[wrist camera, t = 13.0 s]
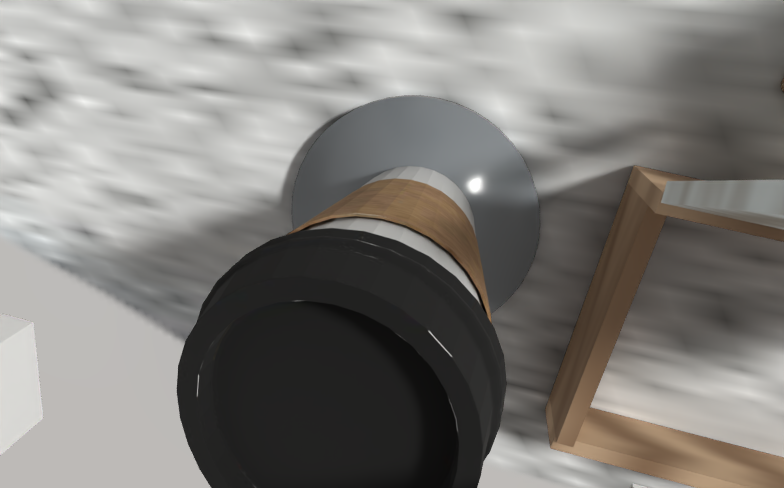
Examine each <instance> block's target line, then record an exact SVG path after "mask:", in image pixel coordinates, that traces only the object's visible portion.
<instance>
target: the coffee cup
mask: <svg viewBox="0 0 784 488" xmlns="http://www.w3.org/2000/svg"><path fill="white" fill-rule="evenodd" d="M505 391H506V373H505V363H504V355H503V352H502V349H501V346H500V343H499V340H498V338H497V335H496V332H495V329H494V327H493V325H492V322H491V313H490V308H489V302H488V297H487V291H486V286H485V280H484V275H483V270H482V264H481V259H480V253H479V248H478V242H477V238H476V234H475V225H474V217H473V213H472V210H471V207H470V204H469V202H468V200H467V199H466V197H465V195H464V194H463V192H462V191H461V190H460V189H459V188H458V186H457V185H456V184H455V183H454V182H452V181H451V180H450V179H448V178H447V177H446V176H444V175H442V174H440V173H438V172H436V171H434V170H431V169H427V168H424V167H416V166H404V167H397V168H394V169H391V170H388V171H385V172H383V173H381V174H380V175H378V176H376V177H374V178H373V179H371V180H370V181H369V182H367V183H366V184H365V185H363V186H362V187H361V188H359V189H357V190H356V191H354V192H352V193H351V194H349V195H348V196H346V197H344V198H343V199H341V200H340V201H338V202H337V203H335V204H334V205H332V206H330V207H329V208H327V209H326V210H324V211H323V212H321V213H319V214H318V215H316V216H315V217H313V218H312V219H310V220H309V221H307V222H305V223H304V224H302V225H301V226H299V227H298V228H296V229H295V230H293V231H291V232H290V233H288V234H287V235H285V236H282V237H279V238H276V239H272V240H270V241H268V242H267V243H265V244H263V245H261V246H260V247H258V248H256V249H255V250H253V251H251V252H249V253H248V254H246V255H245V256H244V257H243V258H242V259H241V260H240V261H239V262H237V263H236V264H235V265H234V266H233V267H232V268H231V269H230V270H229V271H228V272H226V273H225V274H224V275H223V276H222V277H221V278H220V279H219V280H218V281H217V282H216V284H215V285H214V287H213V289H212V290H211V292H210V293H209V295H208V297H207V298H206V300H205V301H204V303H203V305H202V308H201V311H200V314H199V317H198V320H197V323H196V325H195V326H194V328H193V330H192V331H191V333H190V335H189V336H188V338H187V339H186V342H185V345H184V348H183V352H182V355H181V359H180V362H179V365H178V379H177V396H178V405H179V412H180V419H181V422H182V425H183V428H184V432H185V435H186V439H187V442H188V445H189V447H190V449H191V451H192V453H193V455H194V458H195V460H196V462H197V464H198V466H199V469H200V470H201V472H202V474H203V475H204V477H205V478H206V480H207V481H208V483H209V485H210V486H211V488H477V486H478V483H479V479H480V476H481V471H482V466H483V461H484V460H485V458H486V457H487V455H488V454H489V452H490V450H491V448H492V445H493V442H494V440H495V437H496V435H497V432H498V429H499V427H500V421H501V413H502V411H503V405H504V398H505Z"/></svg>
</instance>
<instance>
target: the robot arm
mask: <svg viewBox="0 0 784 488" xmlns="http://www.w3.org/2000/svg"><path fill="white" fill-rule="evenodd" d="M42 419H43V408H42V399H41V389H40V380H39V371H38V360H37V351H36V342H35V332H34V322H32V321H28V320H24V319H21V318H17V317H13V316H9V315H6V314H1V315H0V455H1V454H2V453H4V452H5V451H6V450H7V449H8V448H9V447H11V446H12V445H13V444H14V443H15V442H16V441H18V440H19V439H20V438H21V437H22V436H23V435H24V434H26V433H27V432H28V431H29V430H30V429H31V428H33V427H34V426H35V425H36V424H37V423H39V422H40V421H41V420H42ZM630 488H648V487H644V486H640V485H637V484H633V483H632V485H631V487H630Z"/></svg>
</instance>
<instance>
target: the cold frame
mask: <svg viewBox="0 0 784 488" xmlns="http://www.w3.org/2000/svg"><path fill="white" fill-rule="evenodd" d="M781 89H782V91H783V92H784V78H783V80H782V83H781ZM667 216H670V217H674V218H679V219H683V220H688V221H692V222H697V223H701V224H706V225H710V226H715V227H719V228H724V229H728V230H733V231H737V232H742V233H746V234H751V235H755V236H760V237H765V238H769V239H774V240H778V241H783V242H784V180H713V181H705V180H700V179H696V178H691V177H686V176H682V175H677V174H672V173H668V172H663V171H658V170H654V169H649V168H644V167H640V166H635V165H634V167H633V169H632V172H631V175H630V178H629V180H628V183H627V186H626V189H625V191H624V194H623V197H622V200H621V202H620V205H619V208H618V211H617V213H616V216H615V219H614V222H613V224H612V227H611V230H610V232H609V235H608V238H607V241H606V243H605V246H604V249H603V252H602V254H601V257H600V260H599V263H598V265H597V268H596V271H595V274H594V276H593V279H592V282H591V285H590V287H589V290H588V293H587V296H586V298H585V301H584V304H583V307H582V309H581V312H580V315H579V318H578V320H577V323H576V326H575V329H574V331H573V334H572V337H571V340H570V342H569V345H568V348H567V351H566V353H565V356H564V359H563V361H562V364H561V367H560V370H559V372H558V375H557V378H556V381H555V383H554V386H553V389H552V392H551V394H550V397H549V400H548V403H547V405H546V408H545V411H546V419H547V426H548V434H549V441H550V448H551V449H555V450H559V451H562V452H566V453H570V454H574V455H577V456H581V457H585V458H589V459H592V460H596V461H600V462H603V463H607V464H611V465H615V466H618V467H622V468H626V469H630V470H633V471H637V472H641V473H644V474H648V475H652V476H656V477H659V478H663V479H667V480H671V481H674V482H678V483H682V484H686V485H689V486H693V487H697V488H784V458H783V457H779V456H775V455H771V454H767V453H764V452H760V451H756V450H752V449H748V448H744V447H740V446H736V445H733V444H729V443H725V442H721V441H717V440H713V439H709V438H706V437H702V436H698V435H694V434H690V433H686V432H682V431H679V430H675V429H671V428H667V427H663V426H659V425H655V424H652V423H648V422H644V421H640V420H636V419H632V418H628V417H625V416H621V415H617V414H613V413H609V412H605V411H601V410H597V409H594V408H590V405H591V402H592V400H593V398H594V395H595V393H596V390H597V388H598V385H599V383H600V380H601V378H602V375H603V373H604V370H605V368H606V365H607V363H608V360H609V358H610V355H611V353H612V350H613V348H614V346H615V343H616V341H617V338H618V336H619V333H620V331H621V328H622V326H623V323H624V321H625V318H626V316H627V313H628V311H629V308H630V306H631V303H632V301H633V299H634V296H635V294H636V291H637V289H638V286H639V284H640V281H641V279H642V276H643V274H644V271H645V269H646V266H647V264H648V261H649V259H650V256H651V254H652V251H653V249H654V247H655V244H656V242H657V239H658V237H659V234H660V232H661V229H662V227H663V224H664V222H665V219H666V217H667Z"/></svg>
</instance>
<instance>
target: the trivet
mask: <svg viewBox="0 0 784 488" xmlns="http://www.w3.org/2000/svg"><path fill="white" fill-rule="evenodd" d="M404 166H416V167H424V168H427V169H431V170H434V171H436V172H438V173H440V174H442V175H444V176H446V177H447V178H448V179H450V180H451V181H452V182H454V183H455V184H456V185H457V186H458V188H459V189H460V190H461V191H462V192H463V194H464V195H465V197H466V199H467V200H468V202H469V204H470V207H471V210H472V213H473V217H474V225H475V234H476V238H477V242H478V248H479V253H480V259H481V264H482V270H483V275H484V280H485V286H486V291H487V297H488V302H489V308H490V313H492V312H494V311H495V310H496V309H498V308H499V307H500V306H502V305H503V304H504V303H505V302H506V301H507V300H508V299H509V298H510V297H511V296H512V295H513V293H514V292H515V291H516V289H517V288H518V287H519V286H520V284H521V283H522V281H523V279H524V278H525V276H526V274H527V273H528V271H529V269H530V266H531V264H532V261H533V259H534V256H535V253H536V249H537V244H538V240H539V231H540V210H539V203H538V198H537V192H536V188H535V185H534V182H533V179H532V176H531V174H530V171H529V169H528V167H527V165H526V163H525V161H524V159H523V157H522V156H521V154H520V153H519V152H518V150H517V149H516V147H515V146H514V144H513V143H512V142H511V141H510V140H509V139H508V138H507V136H506V135H505V134H504V133H503V132H502V131H501V130H500V129H499V128H497V127H496V126H495V125H494V124H492V123H491V122H490V121H489V120H488V119H486V118H484V117H483V116H481V115H480V114H478V113H476V112H475V111H473V110H471V109H469V108H467V107H464V106H462V105H460V104H458V103H455V102H451V101H448V100H444V99H441V98H435V97H428V96H414V95H404V96H396V97H388V98H385V99H381V100H377V101H373V102H371V103H368V104H366V105H364V106H361V107H359V108H357V109H355V110H353V111H351V112H350V113H348V114H346V115H345V116H343V117H341V118H340V119H338V120H337V121H336V122H335V123H333V124H332V125H331V126H330V127H329V128H327V129H326V130H325V131H324V133H323V134H322V135H321V136H320V137H319V138H318V139H317V140H316V141H315V143H314V144H313V146H312V147H311V149H310V150H309V151H308V153H307V155H306V157H305V159H304V161H303V163H302V165H301V167H300V169H299V172H298V175H297V178H296V181H295V186H294V191H293V196H292V223H293V230H295V229H296V228H298V227H299V226H301V225H302V224H304V223H305V222H307V221H309V220H310V219H312V218H313V217H315V216H316V215H318V214H319V213H321V212H323V211H324V210H326V209H327V208H329V207H330V206H332V205H334V204H335V203H337V202H338V201H340V200H341V199H343V198H344V197H346V196H348V195H349V194H351V193H352V192H354V191H356V190H357V189H359V188H361V187H362V186H363V185H365V184H366V183H367V182H369V181H370V180H371V179H373V178H374V177H376V176H378V175H380V174H381V173H383V172H385V171H388V170H391V169H394V168H397V167H404Z"/></svg>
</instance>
